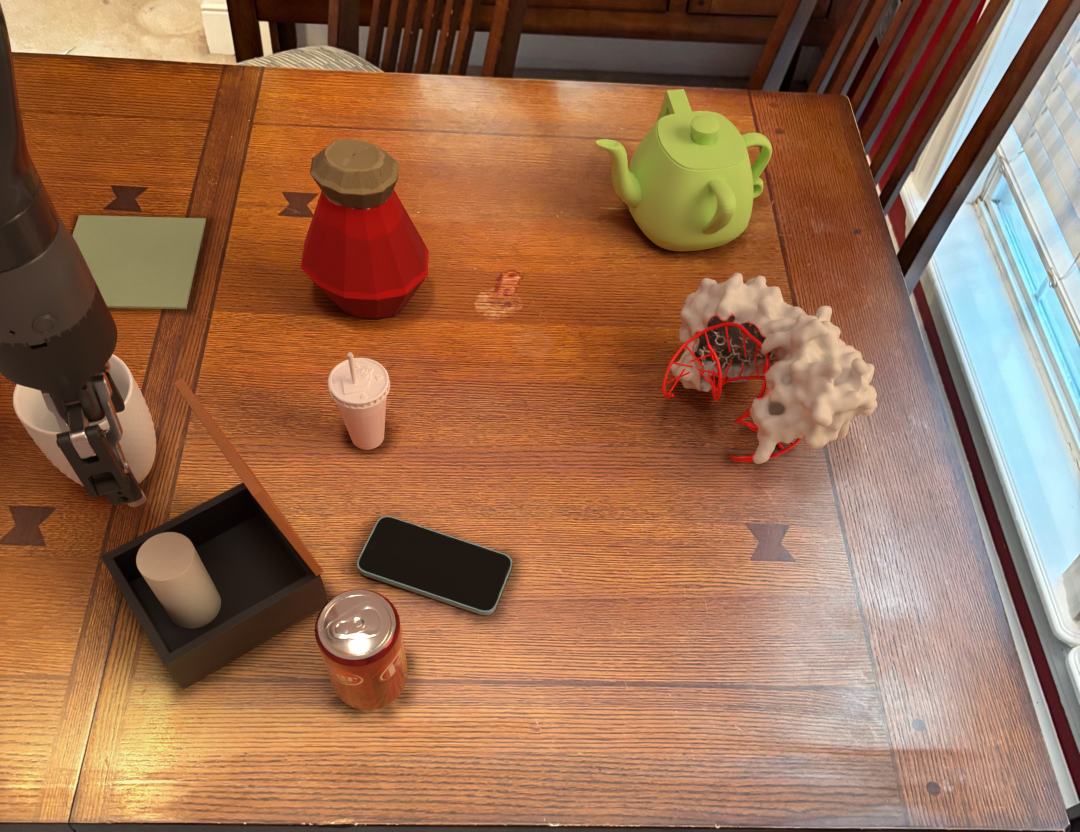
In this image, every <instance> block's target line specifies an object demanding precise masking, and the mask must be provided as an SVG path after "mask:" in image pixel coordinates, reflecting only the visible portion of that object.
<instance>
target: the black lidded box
mask: <svg viewBox="0 0 1080 832" xmlns="http://www.w3.org/2000/svg"><path fill="white" fill-rule="evenodd" d="M165 532H175V533H179V534H182V535H184V536H186V537H187V538H188V539H189V540H190V541H191V542H192V544H193V546H194V548H195V549H196V551H197V553H198V555H199V557H200V559H201V561H202V563H203V565H204V566H205V568H206V570H207V572H208V574H209V576H210V578H211V580H212V581H213V583H214V585H215V587H216V589H217V591H218V593H219V595H220V598H221V607H220V610H219V613H218V614H217V616H216V617H215V618H214V619H213V620H212V621H211V622H210V623H208V624H207V625H205V626H202V627H199V628H195V629H187V628H183V627H180V626H178V625H177V624H175V623H174V622H173V621H172V619H171V618H170V616H169V615H168V613H167V612H166V610H165V609H164V607H163V606H162V604H161V603H160V601H159V600H158V598H157V597H156V595H155V594H154V592H153V591H152V589H151V588H150V586H149V585H148V583H147V582H146V580H145V579H144V577H143V576H142V574H141V573H140V571H139V570H138V568H137V564H136V557H137V553H138V551H139V549H140V547H141V546H142V545H143V544H144V543H145V542H146V541H147V540H148V539H149V538H151V537H153V536H155V535H157V534H160V533H165ZM100 559H101V560H102V562H103V564H104V566H105V567H106V569H107V571H108V573H109V574H110V576H111V577H112V579H113V581H114V583H115V584H116V586H117V588H118V589H119V591H120V593H121V595H122V596H123V598H124V600H125V601H126V603H127V605H128V606H129V608H130V610H131V612H132V613H133V615H134V616H135V617H134V618H136V621H137V622H138V623H139V625H140V627H141V629H142V630H143V632H144V634H145V635H146V637H147V639H148V640H149V642H150V644H151V646H152V647H153V649H154V651H155V653H156V655H157V656H158V658H159V659H160V661H161V663H162V664H163V667H165V669H166V670H167V671H168V673H169V674H170V675H171V676H172V678H173V680H174V681H175V682H176V683H177V685H178V686H179V687H180V688H181V689H182V690H183V691H184V690H186V689H187V688H189V687H191V686H192V685H194V684H195V683H197V682H200V681H201V680H202V679H204V678H206V677H207V676H210V675H211V674H212V673H215V672H216V671H218V670H219V669H222V668H223V667H224V666H226V665H228V664H230V663H232V662H233V661H234V660H236V659H238V658H239V657H242V656H243V655H245V654H247V653H249V652H250V651H252V650H253V649H255V648H257V647H259V646H260V645H262V644H263V643H265V642H267V641H268V640H270V639H272V638H274V637H276V636H277V635H279V634H281V633H282V632H283V631H285V630H287V629H289V628H291V627H293V626H294V625H296V624H297V623H299V622H301V621H302V620H304V619H306V618H307V617H309V616H311V615H313V614H314V613H316V612H318V611H319V610H321V609H322V608H323V607H324V605H325V604H326V603H327V602H328V601H329V599H328V596H327V592H326V589H325V586H324V583H323V579H322V576H321V573H320V574H319V575H318V576H316V575H315V574H314V572H313V571H312V570H311V569H310V567H309V566H308V565H307V564H306V562H305V561H304V560H303V559H302V557H301V556H300V555H299V554H298V552H297V551H296V550H295V549H294V547H293V546H292V545H291V543H290V542H289V541H288V540H287V538H286V537H285V536H284V535H283V533H282V532H281V531H280V530H279V528H278V527H277V526H276V525H275V523H274V522H273V521H272V520H271V518H270V517H269V516H268V515H267V513H266V512H265V511H264V509H263V508H262V507H261V506H260V504H259V503H258V502H257V501H256V499H255V498H254V497H253V496H252V494H251V493H250V491H249V490H248V488H247V487H246V486H245V484H244V483H243V482H241V483H239V484H237V485H235V486H233V487H231V488H230V489H228V490H226V491H224V492H222V493H220V494H217V495H216V496H214V497H212V498H210V499H208V500H206V501H204V502H202V503H200V504H198V505H197V506H194V507H192V508H190V509H189V510H187V511H185V512H183V513H181V514H179V515H177V516H175V517H173V518H171V519H170V520H168V521H167V520H166V522H164V523H161V524H159V525H157V526H156V527H154V528H152V529H150V530H148V531H146V532H144V533H142V534H140V535H138V536H136V537H134V538H132V539H131V540H129V541H126V542H125V543H123V544H121V545H119V546H117V547H115V548H112V549H111V550H109V551H107V552H105V553H103V554H101V555H100Z"/></svg>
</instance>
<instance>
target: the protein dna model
mask: <svg viewBox="0 0 1080 832" xmlns="http://www.w3.org/2000/svg"><path fill="white" fill-rule="evenodd" d="M832 314H833V308H832V307H831V306H830V305H821V306H820V307H818V308H817V310H816V313H815V315H810V314H807V313H806V312H805V311H804V309H803V308H802V307H800V306H798V305H797V306H795V305H794V306H793V305H791V304H789V303H787V302H786V301H785V299H784V297H783V294H782V291H781V288H780V287H779V286H776V285H772V286H769V285H767V278H766V276H764V275H760V274H759V275H756V277H755V276H754V277H753V278H752V277H750V278H749V279H747V281H745V282H744V276H743V274H742V273H740V272H735V273H733V274H732V276H731V277H729V278H728V279H726V280H725V281H722V282H719V283H718V282H717V280H716V279H713V278H709V277H704V278H702V279H701V281H700V285H699V287H698V289H697V290H696V291H694V292H691V293H690V294H688V295H687V297H686V298H685V300H684V305H683V306H682V308H681V310H680V313H679V318H680V321H681V326H680V327H679V329H678V332H679V334H678V340H679V342H680V344H681V346H680V347H679V348H678V349H677V350H676V352H675V353H674V354H673V356H672V357H671V359H670V360H669V362H668V364H667V367H666V370H665V372H664V376H663V380H662V384H661V393H662V396H663V398H664V399H670V398H674V396H675V393H672V392H673V390H674V389H675V386H677V384H678V382H681V384H682V387H683V389H686V390H689V389H692V390H697V391H698V392H699V391H700V392H705V393H709V392H710V391H711V396H712V398H713V400H714V401H715V402H718V401H719V399H720V398H721V395H722V391H723V389H722V388H723V386H724V385H726V384H728V383H745V382H748V381H749V380H763V382H762V385H761V388H760V392H759V394H758V395H757V397H753V399H752V400H753V401H752V403H751V405H750V407H748V409H747V410H746V411H745V412H744V413H743V414H741V415H740V416H739V417H737V418H736V419H735V420H734V423H735V424H739V423H740V424H742V425H743V426H745V427H747V428H749V429H751V430H752V431H753V432H755V433H756V439H757V440H758V446H757V448H756V450H755V452H754V453H753V454H751V455H750V456H738V457H737V456H734V455H733V454H732V455H730V456H729V459H730V460H732V461H733V462H738V463H739V462H740V463H752V462H753V463H754V464H756V465H761V464H764V463H766V462H768V461H769V460H770V459H774V458H777V457H779V456H781V455H783V454H785V453H787V452H789V451H790V450H792V449H794V448H795V447H797V445H798V444H799V443H800V442H801V440H802V439H803V438H804V442H805V444H806V446H807V447H809V448H810V449H812V450H817V449H821V448H823V447H825V446H826V445H827V444H828V443H829V442H835V441H836V440H838V441H839V440H840V441H841V440H843V439H845V438H846V436H847V435H848V433H849V429H850V425H851V422H852V420H853V419H854V418H856V417H857V416H860V415H862V416H867V417H869V416H871V415H872V414H873V413H874V411H875V410H876V409H877V407H878V401H877V398H878V394H877V390H876V388H875V387H874V386H873V385H872V384H870V383H871V382H872V380H873V378H874V376H875V375H874V374H875V366H874V364H872V363H867V362H866V361H865V360H864V359H863V354H862V353H861V351H860V350H857V349H855V347H854V346H853V345H850V344H846V342H845V341H844V340H842V339H841V338H840V336H841V329H840V327H839V326H837V325H835V324H833V322H832V321H831V318H832ZM683 350H684V351H683ZM682 351H683V352H682ZM681 352H682V354H681ZM680 354H681V356H680ZM678 356H680V358H679V360H678V361H675V360H676V359H677V358H678ZM670 372H671V373H672V375H673V378H671V379H669V380H668V378H669V375H670ZM753 374H755V375H753ZM716 378H717V384H716ZM726 378H727V379H726ZM671 382H674V383H673V385H672V386H671V387H670V390H669V391H668V392H667V391H666V387H667V384H669V383H671ZM765 391H767V392H766V394H765ZM764 394H765V395H764ZM746 418H751V419H752V421H753V422H749V421H746V420H744V419H746ZM794 440H795V441H794ZM782 443H783V444H789V445H788V446H787V447H785V448H784V446H783V444H782ZM776 446H777V447H778V448H779V449H781V450H779V451H777V452H775V453H774V451H775V448H776Z"/></svg>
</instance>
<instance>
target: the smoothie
mask: <svg viewBox="0 0 1080 832" xmlns="http://www.w3.org/2000/svg"><path fill="white" fill-rule="evenodd" d="M327 386H328V393H329V396H330V397H331V398H332V400H333V401H334V402H335V404H336V405H337V408H338V410H339V412H340V416H341V417H342V420H343V423H344V426H345V428H346V431H347V432H348V435H349V438H350V440H351V442H352V445H354V446H355V447H356V448H358V449H360V450H366V451H367V450H373V449H375V448H378V447H379V446H381V445H382V444H383V442H384V439H385V430H386V429H385V428H386V427H385V426H386V414H387V413H386V412H387V399H388V395H389V393H390V390H391V380H390V376H389V373H388V370H387V369H386V368H385V366H384V365H383V364H381V363H380V362H378V361H376V360H375V359H373V358H368V357H355V356H354V353H353V352H352V351H351V352H350V351H349V352H347V359H345V360H343V361H341V362H339V363H337V365H335V366H334V367H333V368H332V370H331V371H330V373H329V374H328V377H327Z"/></svg>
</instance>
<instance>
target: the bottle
mask: <svg viewBox="0 0 1080 832" xmlns="http://www.w3.org/2000/svg"><path fill="white" fill-rule="evenodd" d="M399 170H400V163H399V162H398V161H397V160H396V159H395V158H394V157H393V156H391V154H389V153H388V152H387V151H385V150H384V149H382V148H380V147H379V146H377V145H375V144H373V143H371V142H368V141H366V140H364V139H357V138H356V139H355V138H345V139H338V140H337V139H336V140H334V141H333V142H332V143H330V144H329V145H327V146H326V147H325V148H323V149H322V150H320V151H319V152H318V153H316V154H315V155H314V156H313V157H312V158H311V161H310V171H309V175H310V176H311V177H312V178H313V180H314V182H315V183H316V185H317V186H318V188H319V189H320V194H319V197H318V200H317V203H316V205H315V209H314V212H313V215H312V218H311V222H310V224H309V226H308V230H307V232H306V233H307V234H306V236H305V239H304V242H303V246H302V247H303V248H302V254H301V262H300V269H301V270H302V272H304V274H306V276H308V278H310V280H312V282H314V284H315V285H316V286H317V287H318V288H319V289H320V290H321V291H322V292H323V293H324V294H325V295H326V296H327V297H328V298H329V299H330V300H332V302H333V303H334V304H335V305H336V306H337V307H339V308H340V310H341V311H342V312H344V313H346V314H348V315H351V316H353V317H355V318H357V319H362V320H375V321H378V320H383V319H384V320H385V319H389V318H393V317H395V316H397V314H398V313H400V311H402V310H403V309H404V308H405V307H406V306H407V305H408V303H409V302H410V300H411V299H412V298H413V296H414V295H415V293H417V291H418V290H419V288H420V287H421V285H422V284H423V282H424V281H425V280H426V279H427V277H428V275H429V254H430V253H429V252H430V251H429V248H428V247H427V244H426V243H425V241H424V240H423V237H422V236H421V235H420V232H419V230H418V229H417V227H416V225H415V224H414V222H413V221H412V218H411V217H410V215H409V214H408V212H407V210H406V208H405V206H404V204H403V203H402V201H401V199H400V198H399V196H398V194H397V192H396V190H395V187H396V185H397V183H398V180H399Z"/></svg>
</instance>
